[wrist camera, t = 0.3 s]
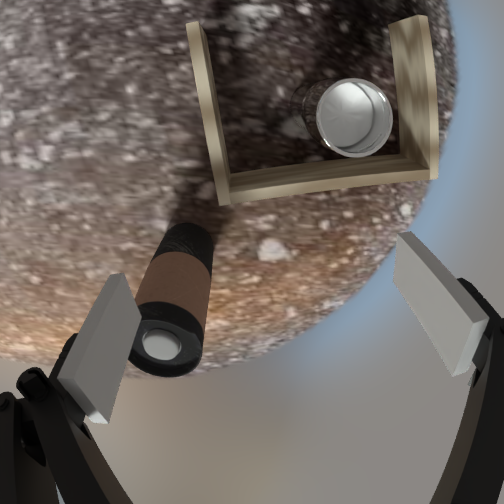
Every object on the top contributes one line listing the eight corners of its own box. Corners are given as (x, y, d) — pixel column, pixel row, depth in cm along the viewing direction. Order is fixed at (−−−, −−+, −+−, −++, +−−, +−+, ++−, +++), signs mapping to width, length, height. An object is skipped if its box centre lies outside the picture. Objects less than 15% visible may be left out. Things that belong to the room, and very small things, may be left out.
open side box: (196, 36, 31) (185, 23, 24) (395, 25, 30) (427, 16, 23) (222, 184, 40) (219, 206, 33) (407, 162, 39) (437, 178, 32)
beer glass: (334, 140, 38) (382, 169, 25) (280, 127, 37) (304, 148, 24) (347, 88, 35) (403, 92, 22) (292, 73, 34) (324, 64, 21)
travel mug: (153, 255, 45) (110, 358, 27) (174, 211, 42) (131, 304, 24) (200, 278, 47) (183, 388, 29) (225, 236, 44) (217, 340, 26)
